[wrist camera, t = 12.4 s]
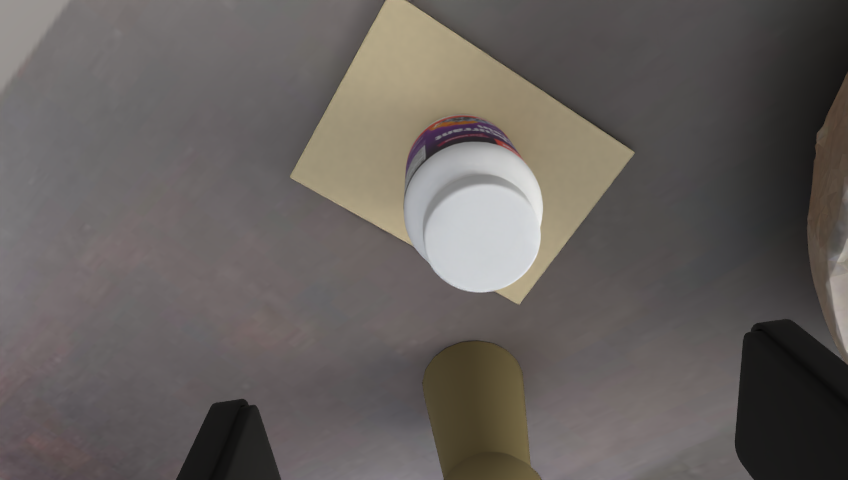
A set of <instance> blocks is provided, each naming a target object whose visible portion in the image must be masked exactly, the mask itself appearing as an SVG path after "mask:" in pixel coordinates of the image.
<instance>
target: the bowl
mask: <svg viewBox="0 0 848 480" xmlns="http://www.w3.org/2000/svg"><path fill="white" fill-rule="evenodd" d="M816 141H817V143H816V145H815V150H816V158H815V160H814V170H813V181H812V191H811V197H810V206H809V213H808V218H807V221H808V225H807V236H808V252H809V259H810V266H811V272H812V277H813V282H814V286H815V289H816V292H817V295H818V299H819V302H820V305H821V309H822V312H823V315H824V318H825V321H826V324H827V326H828V328H829V331H830V333H831V335H832V338H833V340H834V342H835V344H836V346H837V348H838V350H839V352H840V354H841V356H842V358H843V360H844V362H845V363H846V364H847V365H848V72H847V74H846V76H845V79H844V81H843V83H842V85H841V88H840V90H839V92H838V94H837V96H836V98H835V100H834V102H833V104H832V106H831V108H830V110H829V112H828V114H827V117H826V120H825V123H824V125H823V127H822V128H821V129H820V130H819V131H818V133H817V138H816Z"/></svg>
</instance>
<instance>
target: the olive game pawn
mask: <svg viewBox="0 0 848 480" xmlns="http://www.w3.org/2000/svg"><path fill="white" fill-rule="evenodd" d="M422 384H423V392H424V398H425V402H426V406H427V410H428V414H429V419H430V423H431V427H432V431H433V435H434V440H435V444H436V448H437V452H438V456H439V461H440V465H441V469H442V473H443V477H444V480H542V479H541V478H540V476H539V475H538V473H537V472H536V471H535V470H534V469H533V468H532V467H531V465H530V454H529V442H528V431H527V419H526V408H525V396H524V385H523V374H522V370H521V368H520V366H519V364H518V362H517V360H516V359H515V358H514V357H513V356H512V355H511V354H510V353H509V352H508V351H507V350H505V349H503V348H501V347H499V346H497V345H495V344H493V343H487V342H481V341H470V342H461V343H458V344H456V345H453V346H450V347H448V348H446V349H444V350H443V351H442V352H440V353H439V354H438V355H437V356H435V357H434V358H433V359H432V361H431V362H430V364H429V365H428V367H427V368H426V370H425V374H424V378H423V382H422Z"/></svg>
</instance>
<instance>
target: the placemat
mask: <svg viewBox="0 0 848 480" xmlns="http://www.w3.org/2000/svg"><path fill="white" fill-rule="evenodd" d="M458 114H467V115H474V116H478V117H481V118H484V119H486V120H488V121H490V122H492V123H493V124H495V125H496V126H497V127H498V128H499V129H501V130H502V131H503V132H504V133H505V135H506V136H507V137H508V139H509V140H510V141H511V143H512V144H513V146H514V147H515V148H516V150H517V151H518V153H519V154H520V156H521V157H522V158H523V160H524V161H525V163H526V164H527V165H528V167H529V168H530V169H531V171H532V173H533V174H534V176H535V178H536V180H537V182H538V185H539V187H540V190H541V195H542V201H543V215H542V222H541V226H540V232H541V241H540V246H539V250H538V254H537V256H536V258H535V260H534V262H533V264H532V265H531V267H530V268H529V269H528V271H527V272H526V273H525V274H524V275H523V276H522V277H521V278H519V279H518V280H517V281H515V282H514V283H512V284H510V285H508V286H507V287H504V288H502V289H499V290H495V292H496V293H498V294H500V295H502V296H504V297H505V298H507V299H509V300H511V301H513V302H514V303H516V304H518V305H519V304H520V303H521V301H522V300H523V299H524V297H525V296H526V295H527V293H528V292H529V291H530V290H531V288H532V287H533V286H534V284H535V283H536V282H537V280H538V279H539V278H540V276H541V275H542V274H543V273H544V271H545V270H546V269H547V267H548V266H549V265H550V263H551V262H552V261H553V259H554V258H555V257H556V256H557V254H558V253H559V252H560V250H561V249H562V248H563V246H564V245H565V244H566V242H567V241H568V240H569V239H570V237H571V236H572V235H573V233H574V232H575V231H576V229H577V228H578V227H579V225H580V224H581V223H582V222H583V220H584V219H585V218H586V216H587V215H588V214H589V212H590V211H591V210H592V208H593V207H594V206H595V204H596V203H597V202H598V201H599V199H600V198H601V197H602V195H603V194H604V193H605V191H606V190H607V189H608V187H609V186H610V185H611V184H612V182H613V181H614V180H615V178H616V177H617V176H618V174H619V173H620V172H621V170H622V169H623V168H624V167H625V165H626V164H627V163H628V161H629V160H630V159H631V157H632V156H633V155H634V153H635V152H634V151H632V150H631V149H629V148H628V147H626V146H625V145H623V144H622V143H620V142H619V141H617V140H616V139H614V138H613V137H611V136H610V135H608V134H607V133H605V132H604V131H602V130H601V129H599V128H598V127H596V126H595V125H593V124H592V123H590V122H589V121H587V120H586V119H584V118H583V117H581V116H580V115H578V114H577V113H575V112H574V111H572V110H571V109H569V108H568V107H566V106H564V105H563V104H561V103H560V102H558V101H557V100H555V99H554V98H552V97H551V96H549V95H548V94H546V93H545V92H543V91H542V90H540V89H539V88H537V87H536V86H534V85H533V84H531V83H530V82H528V81H527V80H525V79H524V78H522V77H521V76H519V75H518V74H516V73H515V72H513V71H512V70H510V69H509V68H507V67H506V66H504V65H503V64H501V63H500V62H498V61H497V60H495V59H494V58H492V57H491V56H489V55H488V54H486V53H485V52H483V51H482V50H480V49H479V48H477V47H476V46H474V45H473V44H471V43H470V42H468V41H467V40H465V39H464V38H462V37H461V36H459V35H458V34H456V33H455V32H453V31H452V30H450V29H449V28H447V27H445V26H444V25H442V24H441V23H439V22H438V21H436V20H435V19H433V18H432V17H430V16H429V15H427V14H426V13H424V12H423V11H421V10H420V9H418V8H417V7H415V6H414V5H412V4H411V3H409V2H408V1H406V0H385V2H384V4H383V6H382V8H381V10H380V11H379V13H378V15H377V17H376V19H375V21H374V22H373V24H372V26H371V28H370V30H369V32H368V34H367V35H366V37H365V39H364V41H363V43H362V45H361V46H360V48H359V50H358V52H357V54H356V56H355V57H354V59H353V61H352V63H351V65H350V67H349V69H348V70H347V72H346V74H345V76H344V78H343V80H342V81H341V83H340V85H339V87H338V89H337V91H336V92H335V94H334V96H333V98H332V100H331V102H330V103H329V105H328V107H327V109H326V111H325V113H324V115H323V116H322V118H321V120H320V122H319V124H318V126H317V127H316V129H315V131H314V133H313V135H312V137H311V138H310V140H309V142H308V144H307V146H306V148H305V149H304V151H303V153H302V155H301V157H300V159H299V161H298V162H297V164H296V166H295V168H294V170H293V172H292V173H291V175H290V178H291V179H293V180H295V181H297V182H299V183H300V184H302V185H304V186H306V187H308V188H309V189H311V190H313V191H315V192H317V193H318V194H320V195H322V196H324V197H326V198H327V199H329V200H331V201H333V202H335V203H336V204H338V205H340V206H342V207H344V208H345V209H347V210H349V211H351V212H353V213H354V214H356V215H358V216H360V217H362V218H363V219H365V220H367V221H369V222H371V223H372V224H374V225H376V226H378V227H380V228H381V229H383V230H385V231H387V232H389V233H390V234H392V235H394V236H396V237H398V238H399V239H401V240H403V241H405V242H407V243H408V244H410V245H412V246H413V244H412V242H411V240H410V238H409V236H408V233H407V230H406V226H405V221H404V209H403V205H404V190H405V174H406V163H407V158H408V154H409V151H410V149H411V146H412V144H413V143H414V141H415V139H416V138H417V137H418V135H419V134H420V133H421V132H422V131H423V130H424V129H425V128H426V127H427V126H429V125H430V124H431V123H433V122H435V121H436V120H439V119H441V118H443V117H447V116H451V115H458Z"/></svg>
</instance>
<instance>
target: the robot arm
mask: <svg viewBox="0 0 848 480" xmlns="http://www.w3.org/2000/svg"><path fill="white" fill-rule="evenodd" d="M735 448H736V452H737V455H738V458H739V460H740V462H741V463H742V465H743V466H744V467H745V469H746V470H747V471H748V473H749V474H750V475H751V477H752V478H753V479H754V480H848V365H847V364H846V363H845V362H844V361H842V360H841V359H840V358H839V357H837V356H836V355H835V354H834V353H832V352H831V351H830V350H829V349H827V348H826V347H825V346H824V345H822V344H821V343H820V342H818V341H817V340H816V339H815V338H813V337H812V336H811V335H810V334H808V333H807V332H806V331H805V330H803V329H802V328H801V327H800V326H798V325H797V324H796V323H795V322H793V321H791V320H789V319H783V320H776V321H769V322H762V323H757V324H755V325H753V327H752V329H751V332H748V333H746V334H745V336H744V339H743V348H742V361H741V373H740V385H739V397H738V409H737V422H736V434H735ZM176 480H281V478H280V475H279V471H278V468H277V465H276V462H275V459H274V456H273V453H272V450H271V447H270V444H269V441H268V437H267V434H266V431H265V428H264V425H263V422H262V419H261V416H260V413H259V410H258V408H257V406H256V405H250V406H249V405H248V402H247V401H246V400H245V399H238V400H232V401H225V402H218V403H214V404H213V405H212V406H211V408H210V410H209V412H208V414H207V416H206V418H205V420H204V422H203V424H202V426H201V428H200V431H199V433H198V435H197V437H196V439H195V441H194V443H193V445H192V447H191V449H190V452H189V454H188V456H187V458H186V460H185V462H184V464H183V466H182V468H181V471H180V473H179V475H178V477H177V479H176Z"/></svg>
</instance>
